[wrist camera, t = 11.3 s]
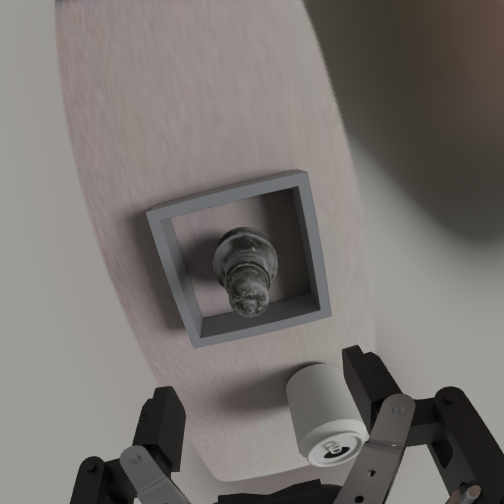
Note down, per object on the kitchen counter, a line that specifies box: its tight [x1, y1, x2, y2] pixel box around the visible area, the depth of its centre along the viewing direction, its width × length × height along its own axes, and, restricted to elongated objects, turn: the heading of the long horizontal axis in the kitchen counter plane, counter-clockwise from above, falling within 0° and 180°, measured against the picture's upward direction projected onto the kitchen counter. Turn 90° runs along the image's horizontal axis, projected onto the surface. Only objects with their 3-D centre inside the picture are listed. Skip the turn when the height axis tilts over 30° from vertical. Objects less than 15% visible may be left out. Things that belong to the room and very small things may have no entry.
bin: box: [146, 169, 332, 348], centre depth 29 cm, size 14×14×4 cm
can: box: [286, 364, 366, 467], centre depth 31 cm, size 8×8×12 cm
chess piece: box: [212, 227, 278, 317], centre depth 25 cm, size 6×6×12 cm
